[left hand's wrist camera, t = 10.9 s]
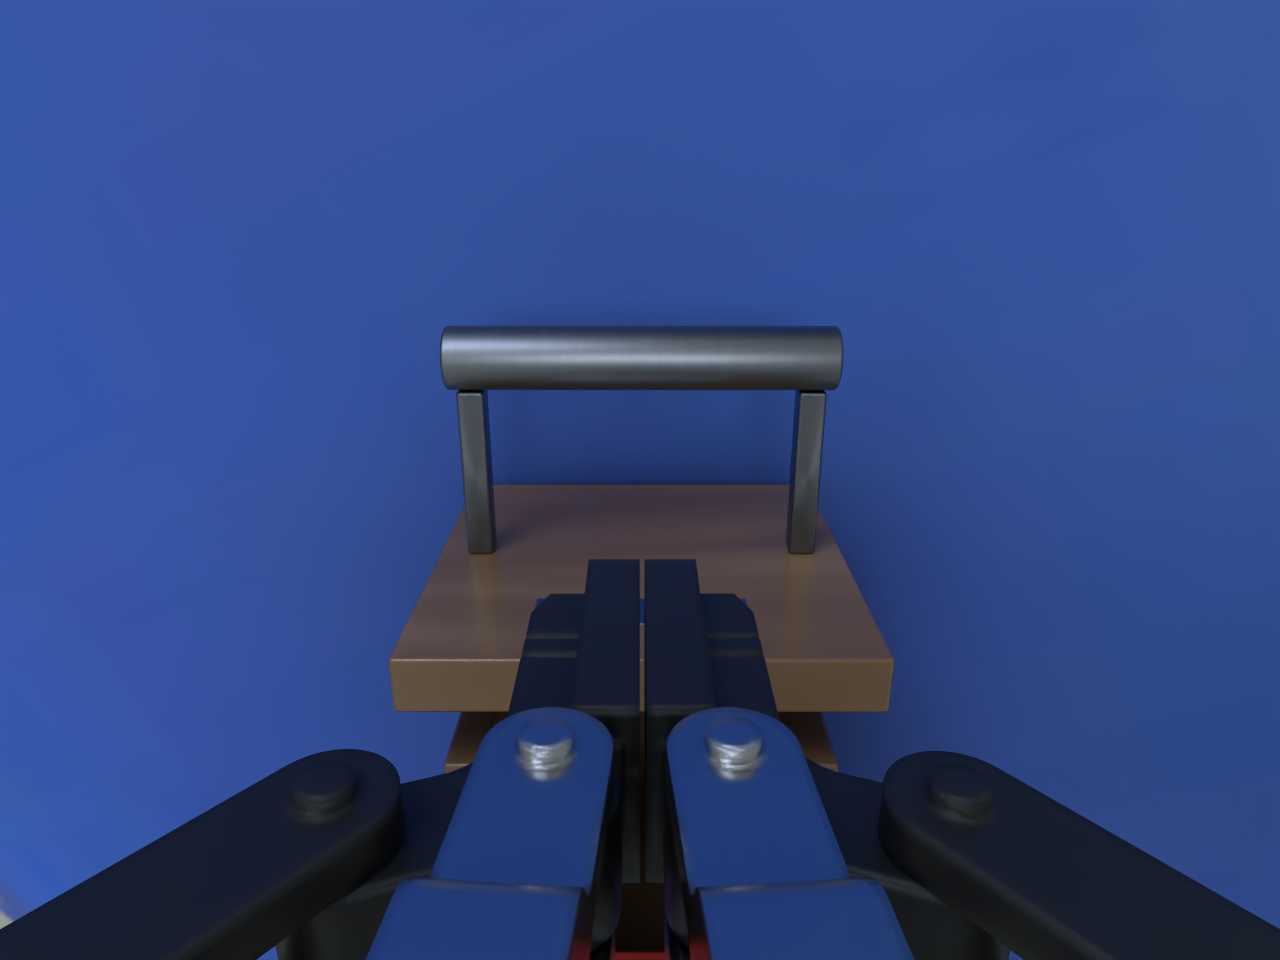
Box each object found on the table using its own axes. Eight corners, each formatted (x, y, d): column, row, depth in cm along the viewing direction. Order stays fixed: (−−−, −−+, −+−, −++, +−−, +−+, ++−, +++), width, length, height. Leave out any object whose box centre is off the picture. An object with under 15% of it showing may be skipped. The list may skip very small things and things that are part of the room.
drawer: (460, 294, 23) (353, 382, 14) (822, 294, 23) (930, 383, 14) (506, 936, 31) (455, 1236, 22) (774, 937, 31) (825, 1237, 22)
